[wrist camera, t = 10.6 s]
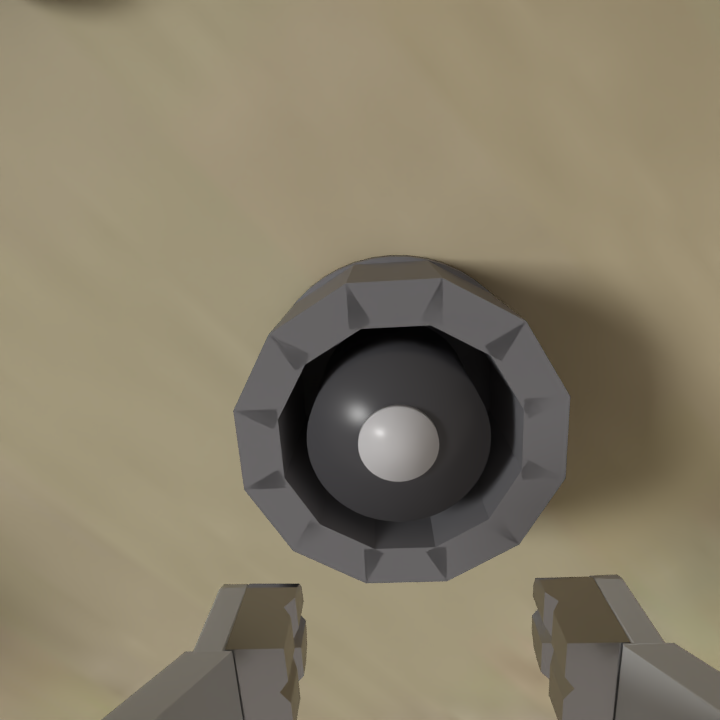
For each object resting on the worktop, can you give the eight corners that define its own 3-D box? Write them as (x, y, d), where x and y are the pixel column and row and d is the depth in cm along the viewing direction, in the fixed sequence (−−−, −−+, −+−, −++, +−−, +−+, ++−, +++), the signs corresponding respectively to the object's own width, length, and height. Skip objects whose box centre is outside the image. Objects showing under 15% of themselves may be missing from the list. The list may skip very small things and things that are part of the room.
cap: (317, 323, 21) (297, 359, 16) (466, 316, 21) (494, 351, 16) (328, 457, 23) (313, 529, 18) (466, 452, 22) (491, 524, 17)
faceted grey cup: (255, 263, 21) (209, 283, 15) (527, 247, 21) (585, 263, 15) (282, 499, 24) (252, 590, 19) (520, 491, 24) (565, 582, 18)
